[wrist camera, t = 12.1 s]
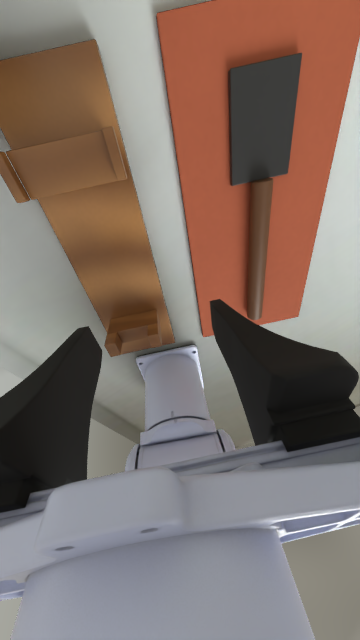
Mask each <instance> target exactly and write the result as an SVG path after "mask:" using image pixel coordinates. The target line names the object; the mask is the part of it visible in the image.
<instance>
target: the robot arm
mask: <svg viewBox="0 0 360 640" xmlns="http://www.w3.org/2000/svg"><path fill="white" fill-rule="evenodd" d="M210 311H211V322H212V329H213V332H214V336H215V339H216V342H217V344H218V346H219V348H220V350H221V352H222V355H223V357H224V359H225V361H226V363H227V365H228V367H229V369H230V371H231V374H232V376H233V379H234V381H235V384H236V387H237V390H238V393H239V396H240V399H241V402H242V405H243V408H244V411H245V414H246V417H247V420H248V423H249V426H250V429H251V433H252V436H253V439H254V443H255V446H251V447H247V448H242V449H238V450H236V449H235V446H234V443H233V441H232V439H231V437H230V435H229V434H227V433H226V432H225V431H224V430H223V429H218V430H217V431H216V427H215V423H214V420H211V419H210V415H209V411H208V407H207V403H206V399H205V395H204V391H203V388H204V384H203V379H202V373H201V367H200V362H199V356H198V350H197V346H196V345H190V346H185V347H180V348H176V349H171V350H167V351H162V352H158V353H153V354H148V355H144V356H139V357H137V358H136V363H137V365H138V368H139V370H140V372H141V374H142V376H143V378H144V381H145V432H141V436H140V444H136V445H135V446H133V448H132V450H131V452H130V453H129V455H128V457H127V461H126V466H125V472H120V473H116V474H111V475H107V476H101V477H97V478H92V479H87V454H88V438H89V427H90V418H91V410H92V404H93V399H94V394H95V390H96V386H97V382H98V377H99V373H100V368H101V361H102V349H101V348H100V346H99V344H98V342H97V341H96V339H95V337H94V335H93V333H92V332H91V330H90V328H89V326H87V327H82V328H78V329H77V330H76V331H75V332H74V333H73V334H72V335H71V336H70V337H69V338H68V339H67V340H66V341H65V342H64V343H63V344H62V345H61V346H60V347H59V348H58V349H57V350H56V351H55V352H54V353H53V354H52V355H51V356H50V357H49V358H48V359H47V360H46V361H45V362H44V363H43V364H42V365H41V366H39V367H38V368H37V369H36V370H35V371H34V372H33V373H32V374H30V375H29V376H28V377H27V378H26V379H24V380H23V381H22V382H21V383H20V384H18V385H17V386H15V387H14V388H13V389H12V390H10V391H9V392H7V393H6V394H5V395H4V396H2V397H0V601H2V600H8V599H13V598H18V597H22V600H21V604H20V607H19V611H18V614H17V617H16V621H15V624H14V628H13V631H12V635H11V638H10V640H315V638H314V635H313V632H312V629H311V626H310V624H309V621H308V618H307V615H306V612H305V609H304V606H303V604H302V601H301V598H300V595H299V592H298V590H297V587H296V584H295V581H294V578H293V575H292V573H291V570H290V567H289V564H288V561H287V559H286V556H285V553H284V550H283V547H282V544H281V543H285V542H289V541H293V540H297V539H301V538H305V537H309V536H313V535H317V534H321V533H325V532H329V531H333V530H337V529H341V528H345V527H349V526H353V525H357V524H360V417H359V416H358V415H357V414H356V413H355V412H354V410H353V409H355V405H354V404H353V403H352V401H351V400H350V399H349V396H350V395H351V393H352V391H353V389H354V388H355V386H356V384H357V382H358V379H359V375H358V372H357V371H356V370H355V369H354V368H353V367H352V366H351V365H350V364H349V363H348V362H347V361H346V360H345V359H344V358H343V357H342V356H341V355H340V354H339V353H338V352H333V351H329V350H325V349H321V348H317V347H313V346H309V345H306V344H303V343H300V342H297V341H294V340H291V339H288V338H285V337H283V336H280V335H278V334H275V333H273V332H271V331H269V330H267V329H265V328H263V327H261V326H259V325H257V324H255V323H254V322H252V321H250V320H249V319H247V318H245V317H244V316H242V315H241V314H239V313H238V312H237V311H235V310H234V309H233V308H231V307H230V306H229V305H227V304H226V303H225V302H223V301H222V300H221V299H217V300H212V301H210ZM140 362H142V363H140Z"/></svg>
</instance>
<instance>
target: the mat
mask: <svg viewBox="0 0 360 640" xmlns="http://www.w3.org/2000/svg"><path fill="white" fill-rule="evenodd" d="M156 19H157V25H158V32H159V39H160V46H161V53H162V60H163V67H164V73H165V80H166V87H167V94H168V101H169V108H170V115H171V121H172V128H173V135H174V142H175V149H176V156H177V163H178V169H179V176H180V183H181V190H182V197H183V204H184V211H185V217H186V224H187V231H188V238H189V245H190V252H191V259H192V265H193V272H194V279H195V286H196V293H197V300H198V307H199V313H200V320H201V327H202V334H203V337H207V336H211V335H214V332H213V329H212V322H211V311H210V301H212V300H217V299H221V300H222V301H223V302H225V303H226V304H227V305H229V306H230V307H231V308H233V309H234V310H235V311H237V312H238V313H239V314H241V315H242V316H244V317H245V318H247V319H249V318H248V317H247V295H248V261H249V227H250V192H251V182H248V183H244V184H239V185H235V186H231V185H230V144H229V98H228V71H229V70H230V69H231V68H235V67H239V66H244V65H248V64H252V63H257V62H261V61H266V60H270V59H275V58H279V57H284V56H288V55H293V54H297V53H302V60H301V68H300V77H299V85H298V93H297V102H296V110H295V119H294V127H293V136H292V144H291V152H290V161H289V169H288V174H285V175H280V176H276V177H271V178H273V190H272V202H271V214H270V226H269V238H268V249H267V261H266V273H265V285H264V297H263V309H262V317H261V318H260V319H258V320H251V319H249V320H250V321H252V322H254V323H255V324H257V325H262V324H266V323H271V322H276V321H280V320H285V319H289V318H294V317H298V315H299V311H300V306H301V302H302V297H303V293H304V288H305V284H306V279H307V274H308V270H309V265H310V261H311V256H312V252H313V247H314V242H315V238H316V233H317V229H318V224H319V220H320V215H321V211H322V206H323V201H324V197H325V192H326V188H327V183H328V179H329V174H330V169H331V165H332V160H333V156H334V151H335V147H336V142H337V138H338V133H339V128H340V124H341V119H342V115H343V110H344V106H345V101H346V97H347V92H348V87H349V83H350V78H351V74H352V69H353V65H354V60H355V55H356V51H357V46H358V42H359V37H360V0H212V1H208V2H203V3H199V4H195V5H190V6H186V7H181V8H177V9H172V10H168V11H164V12H159V13H157V16H156Z"/></svg>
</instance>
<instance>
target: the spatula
mask: <svg viewBox="0 0 360 640" xmlns="http://www.w3.org/2000/svg"><path fill="white" fill-rule="evenodd" d="M301 60H302V53H297V54H293V55H288V56H284V57H279V58H275V59H270V60H266V61H261V62H257V63H252V64H248V65H244V66H239V67H235V68H231V69H230V70H229V71H228V98H229V144H230V185H231V186H235V185H239V184H244V183H248V182H251V192H250V227H249V261H248V295H247V317H248V318H249V319H251V320H258V319H260V318H261V317H262V309H263V297H264V285H265V273H266V261H267V249H268V238H269V226H270V214H271V202H272V190H273V178H271V177H276V176H280V175H285V174H288V169H289V161H290V152H291V144H292V136H293V127H294V119H295V110H296V102H297V93H298V85H299V77H300V68H301Z"/></svg>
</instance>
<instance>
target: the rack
mask: <svg viewBox="0 0 360 640" xmlns="http://www.w3.org/2000/svg"><path fill="white" fill-rule="evenodd" d="M0 128H1V130H2V132H3V134H4V136H5V138H6V140H7V141H8V143H9V145H10V147H11V149H12V150H10V151H6V154H7V156H8V158H9V159H10V161H11V163H12V165H13V167H14V169H15V171H16V172H17V174H18V176H19V178H20V180H21V182H22V183H21V182H20V180H19V178H18V176H17V174H16V172H15V171H14V169H13V167H12V165H11V163H10V161H9V159H8V158H7V156H6V154H5V152H0V174H1V176H2V178H3V179H4V181H5V183H6V184H7V186H8V188H9V190H10V191H11V193H12V195H13V197H14V198H15V200H16V202H17V203H22V202H26V201H29V200H30V198H31V200H34V199H38V201H39V203H40V205H41V207H42V209H43V210H44V212H45V214H46V216H47V218H48V220H49V222H50V224H51V226H52V228H53V230H54V232H55V233H56V235H57V237H58V239H59V241H60V243H61V245H62V247H63V249H64V251H65V253H66V255H67V257H68V258H69V260H70V262H71V264H72V266H73V268H74V270H75V272H76V274H77V276H78V278H79V280H80V281H81V283H82V285H83V287H84V289H85V291H86V293H87V295H88V297H89V299H90V301H91V303H92V304H93V306H94V308H95V310H96V312H97V314H98V316H99V318H100V320H101V322H102V324H103V326H104V327H105V329H106V331H107V336H106V341H105V345H104V346H105V348H106V349H107V351H108V353H109V355H110V356H111V357H113V356H118V355H121V354H125V353H130V352H134V351H139V350H144V349H148V348H155V347H159V346H162V345H167V344H171V343H175V338H174V335H173V331H172V327H171V323H170V319H169V315H168V312H167V308H166V304H165V300H164V296H163V292H162V289H161V285H160V281H159V277H158V273H157V269H156V266H155V262H154V258H153V254H152V250H151V247H150V243H149V239H148V235H147V231H146V227H145V224H144V220H143V216H142V212H141V208H140V204H139V201H138V197H137V193H136V189H135V185H134V182H133V178H132V174H131V170H130V166H129V162H128V159H127V155H126V151H125V147H124V143H123V139H122V136H121V132H120V128H119V124H118V120H117V116H116V113H115V109H114V105H113V101H112V97H111V94H110V90H109V86H108V82H107V78H106V74H105V71H104V67H103V63H102V59H101V55H100V51H99V48H98V45H97V42H96V40H95V39H93V40H88V41H84V42H80V43H75V44H71V45H66V46H62V47H57V48H53V49H49V50H44V51H40V52H35V53H31V54H26V55H22V56H18V57H13V58H9V59H4V60H0ZM22 184H23V185H24V187H25V189H26V191H27V193H28V195H29V196H28V195H27V193H26V191H25V189H24V187H23V185H22ZM29 197H30V198H29Z"/></svg>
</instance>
